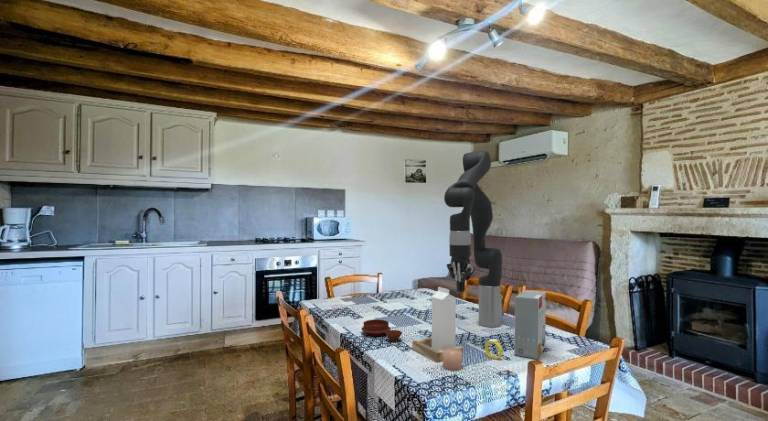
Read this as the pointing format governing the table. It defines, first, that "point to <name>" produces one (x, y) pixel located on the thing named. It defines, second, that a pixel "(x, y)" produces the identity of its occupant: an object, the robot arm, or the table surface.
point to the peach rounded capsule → (452, 359)
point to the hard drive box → (530, 323)
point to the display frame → (429, 349)
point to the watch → (497, 346)
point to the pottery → (380, 329)
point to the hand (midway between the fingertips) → (460, 291)
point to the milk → (443, 320)
